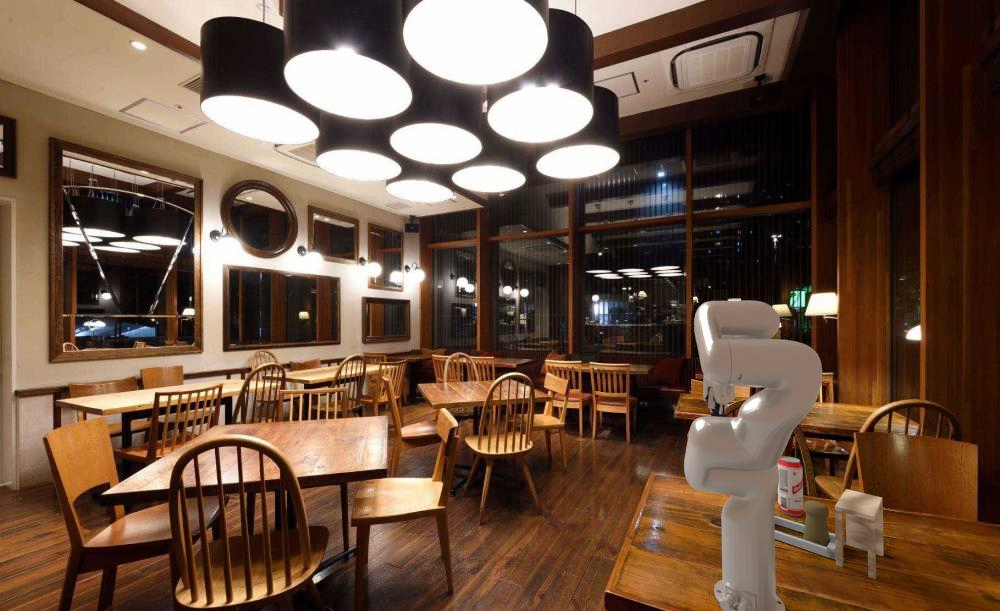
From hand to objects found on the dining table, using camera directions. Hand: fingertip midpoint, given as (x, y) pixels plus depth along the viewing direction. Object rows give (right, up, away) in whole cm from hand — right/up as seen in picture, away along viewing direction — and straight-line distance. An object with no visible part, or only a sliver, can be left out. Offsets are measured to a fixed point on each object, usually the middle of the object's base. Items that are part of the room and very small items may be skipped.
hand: (718, 427), depth 112 cm
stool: (+28, -29, -12) cm, 42 cm away
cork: (+23, -29, -5) cm, 37 cm away
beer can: (+28, -30, +13) cm, 43 cm away
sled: (+19, -29, -1) cm, 35 cm away
